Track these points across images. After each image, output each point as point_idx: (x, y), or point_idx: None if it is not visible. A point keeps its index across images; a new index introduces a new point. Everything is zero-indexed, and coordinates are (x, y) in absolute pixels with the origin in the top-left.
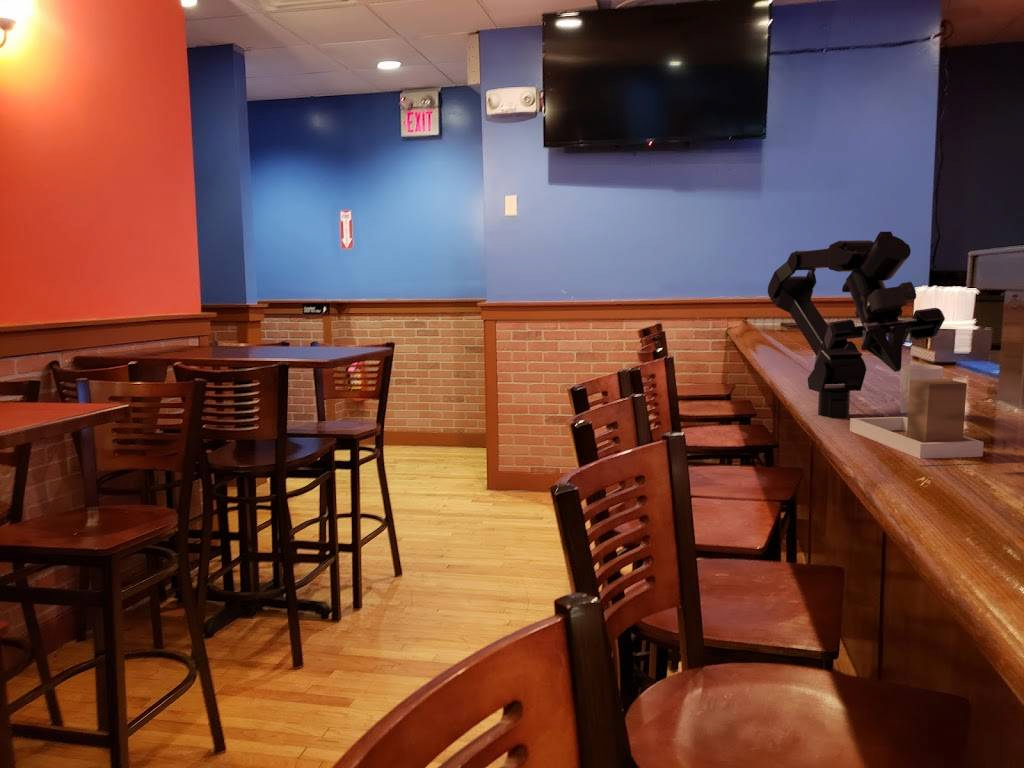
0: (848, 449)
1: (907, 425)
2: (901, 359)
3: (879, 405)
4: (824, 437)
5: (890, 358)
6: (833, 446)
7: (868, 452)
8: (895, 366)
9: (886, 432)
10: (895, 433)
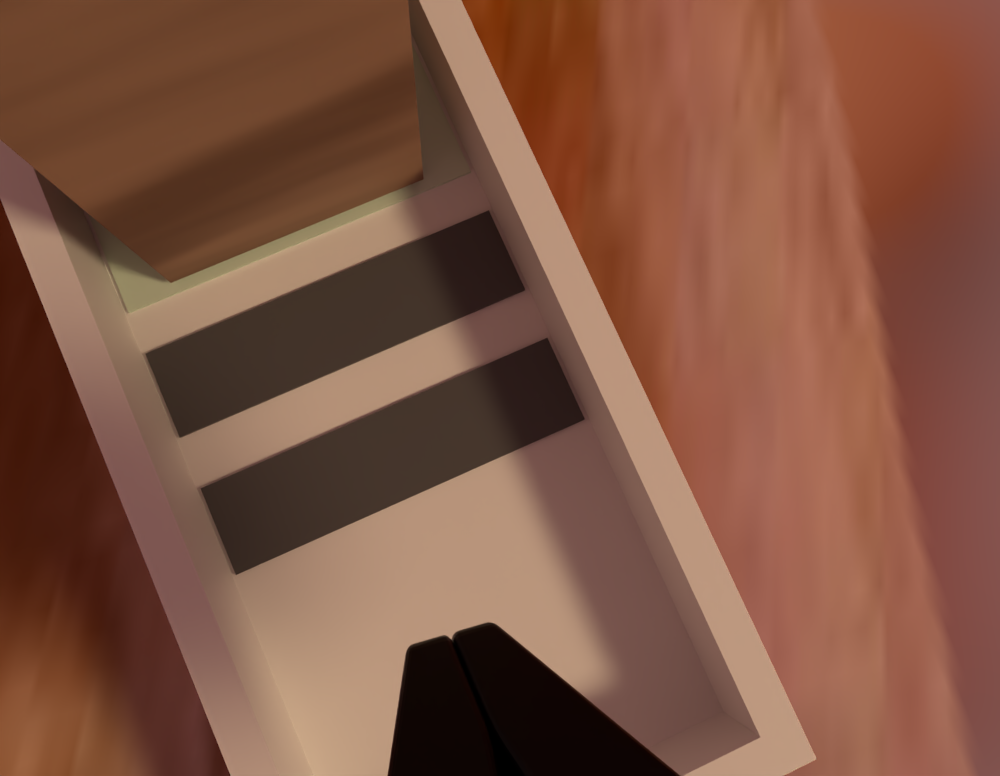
0: (772, 299)
1: (417, 111)
2: (388, 772)
3: None
4: (935, 682)
5: (622, 736)
6: (868, 370)
7: (649, 240)
8: (508, 637)
9: (558, 214)
10: (501, 150)
